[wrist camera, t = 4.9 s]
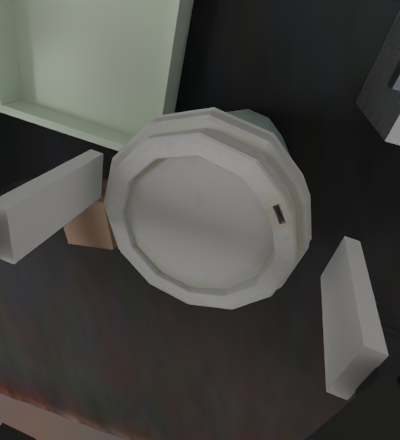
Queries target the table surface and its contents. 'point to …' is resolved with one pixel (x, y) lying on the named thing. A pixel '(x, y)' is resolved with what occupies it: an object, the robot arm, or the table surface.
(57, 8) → the tray
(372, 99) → the unit
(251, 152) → the disposable coffee cup
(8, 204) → the robot arm
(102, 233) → the walnut block
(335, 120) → the table surface
